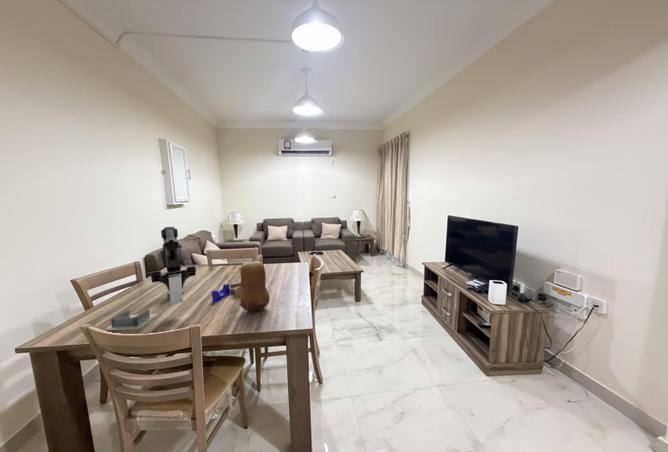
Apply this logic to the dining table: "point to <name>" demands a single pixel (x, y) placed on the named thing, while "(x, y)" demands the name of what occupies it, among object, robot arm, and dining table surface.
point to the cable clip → (220, 293)
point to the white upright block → (175, 289)
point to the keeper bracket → (131, 320)
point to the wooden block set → (236, 288)
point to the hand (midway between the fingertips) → (175, 289)
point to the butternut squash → (253, 286)
